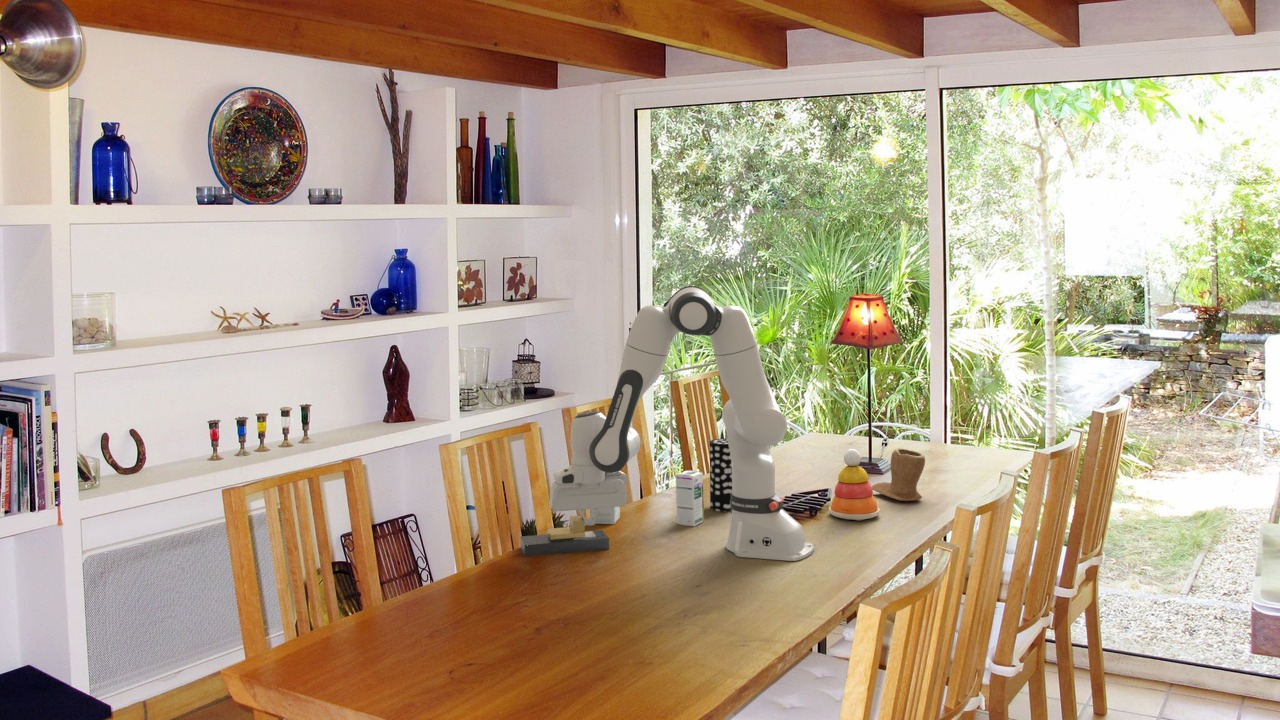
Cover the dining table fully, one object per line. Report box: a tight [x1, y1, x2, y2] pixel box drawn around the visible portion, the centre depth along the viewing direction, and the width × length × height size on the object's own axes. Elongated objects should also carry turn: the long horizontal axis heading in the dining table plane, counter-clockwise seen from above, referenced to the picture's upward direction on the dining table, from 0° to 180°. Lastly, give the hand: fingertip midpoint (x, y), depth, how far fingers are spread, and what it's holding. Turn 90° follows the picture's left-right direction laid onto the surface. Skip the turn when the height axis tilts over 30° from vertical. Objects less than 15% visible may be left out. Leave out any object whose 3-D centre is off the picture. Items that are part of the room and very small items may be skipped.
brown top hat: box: [871, 447, 926, 502], centre depth 334 cm, size 15×12×15 cm
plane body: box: [520, 529, 610, 557], centre depth 288 cm, size 22×8×3 cm, turn 104°
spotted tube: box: [709, 438, 732, 513], centre depth 325 cm, size 8×8×20 cm
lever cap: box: [546, 515, 586, 540], centre depth 287 cm, size 9×6×4 cm, turn 104°
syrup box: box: [675, 470, 705, 527], centre depth 310 cm, size 6×6×14 cm
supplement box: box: [589, 507, 621, 525], centre depth 314 cm, size 7×7×13 cm
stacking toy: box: [828, 448, 880, 521], centre depth 314 cm, size 14×14×20 cm
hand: (588, 525), depth 289 cm, fingers closed
